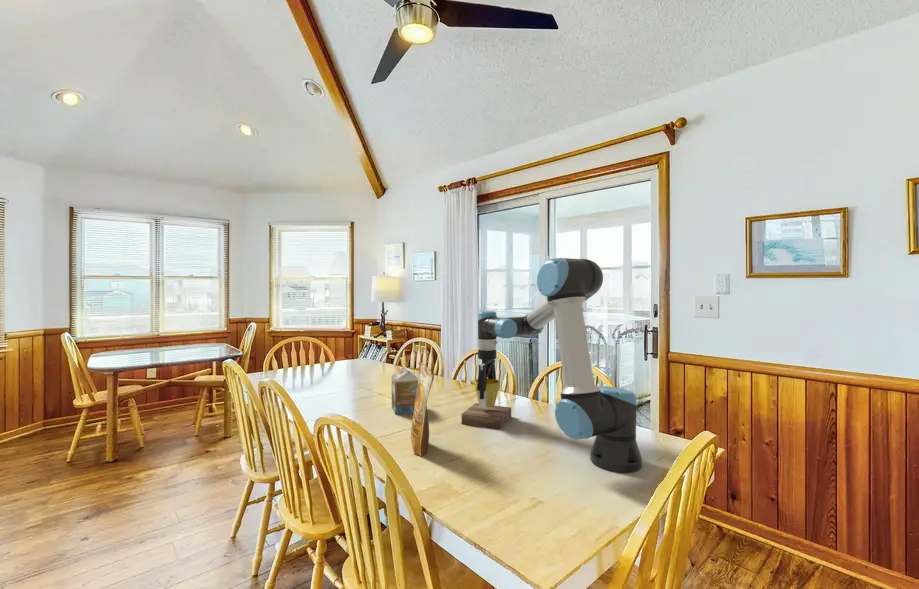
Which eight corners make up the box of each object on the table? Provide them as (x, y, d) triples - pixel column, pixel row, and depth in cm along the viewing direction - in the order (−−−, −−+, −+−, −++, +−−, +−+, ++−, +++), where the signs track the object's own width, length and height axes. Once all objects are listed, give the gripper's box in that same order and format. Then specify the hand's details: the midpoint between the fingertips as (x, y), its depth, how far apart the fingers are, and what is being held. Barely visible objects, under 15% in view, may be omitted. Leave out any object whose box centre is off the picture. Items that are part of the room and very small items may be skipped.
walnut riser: (500, 429, 162) (500, 418, 161) (461, 423, 168) (461, 413, 167) (511, 416, 176) (511, 407, 176) (475, 412, 182) (475, 403, 182)
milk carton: (391, 407, 190) (391, 365, 189) (414, 405, 193) (414, 364, 192) (395, 414, 180) (395, 370, 179) (419, 412, 183) (419, 368, 182)
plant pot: (499, 401, 176) (499, 378, 176) (499, 408, 166) (499, 384, 166) (475, 400, 178) (475, 377, 177) (473, 407, 167) (473, 383, 167)
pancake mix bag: (427, 436, 154) (427, 360, 153) (434, 457, 135) (434, 371, 135) (409, 437, 153) (409, 360, 152) (413, 459, 134) (413, 371, 133)
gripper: (487, 354, 159) (486, 412, 160) (503, 345, 180) (503, 397, 181) (468, 352, 162) (468, 409, 163) (487, 344, 183) (487, 395, 184)
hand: (487, 403), depth 172 cm, fingers closed on plant pot, 10 cm apart
